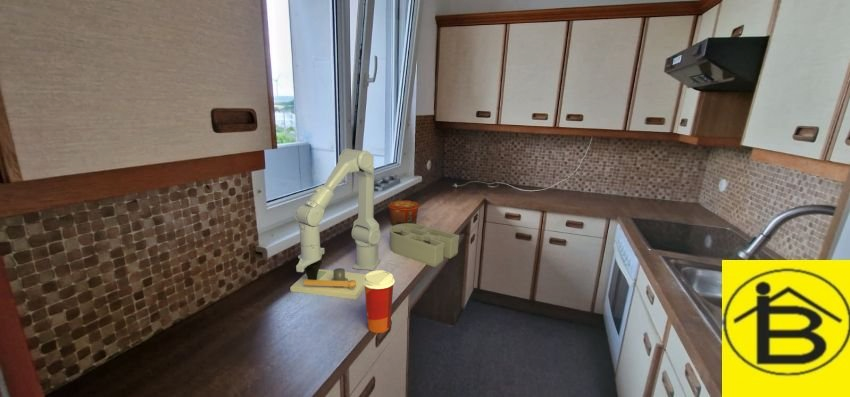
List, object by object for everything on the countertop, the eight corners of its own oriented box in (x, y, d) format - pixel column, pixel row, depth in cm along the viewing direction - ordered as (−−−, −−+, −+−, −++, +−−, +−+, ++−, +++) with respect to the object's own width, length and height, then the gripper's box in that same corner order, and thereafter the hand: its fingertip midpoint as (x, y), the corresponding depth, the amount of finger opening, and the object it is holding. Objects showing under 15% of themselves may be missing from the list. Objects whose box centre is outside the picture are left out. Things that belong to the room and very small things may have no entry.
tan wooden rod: (306, 282, 113) (306, 278, 113) (356, 284, 113) (356, 280, 113) (303, 286, 111) (303, 282, 110) (355, 288, 111) (354, 283, 110)
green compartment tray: (434, 268, 133) (435, 247, 130) (381, 249, 149) (381, 230, 147) (458, 255, 145) (459, 235, 143) (406, 239, 162) (407, 221, 160)
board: (311, 272, 126) (311, 266, 125) (370, 278, 122) (370, 272, 122) (290, 291, 113) (290, 284, 112) (356, 299, 109) (356, 292, 108)
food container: (421, 220, 189) (421, 200, 186) (416, 229, 174) (416, 209, 171) (391, 218, 191) (392, 198, 188) (384, 227, 176) (384, 206, 173)
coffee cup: (379, 314, 102) (379, 266, 98) (400, 326, 96) (401, 275, 93) (357, 327, 95) (355, 276, 92) (378, 340, 90) (377, 287, 86)
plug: (335, 282, 119) (334, 266, 118) (350, 284, 118) (350, 267, 117) (327, 290, 114) (327, 273, 112) (344, 292, 113) (343, 275, 112)
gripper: (309, 234, 117) (311, 271, 121) (285, 250, 103) (288, 292, 107) (329, 236, 116) (331, 273, 119) (308, 253, 102) (310, 295, 106)
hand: (312, 282), depth 113 cm, fingers closed, pressing on tan wooden rod
